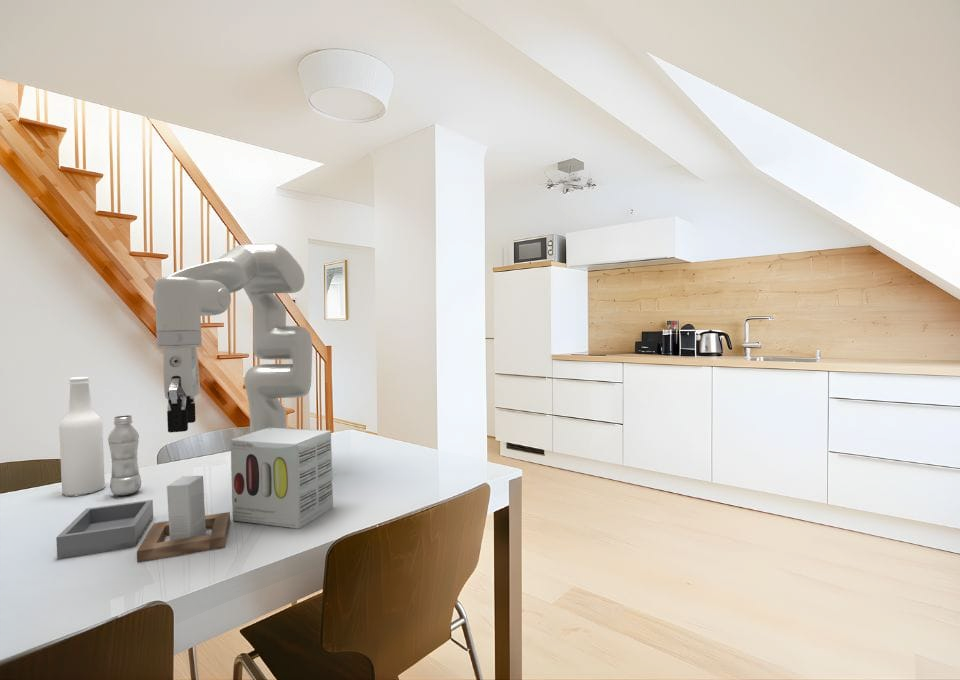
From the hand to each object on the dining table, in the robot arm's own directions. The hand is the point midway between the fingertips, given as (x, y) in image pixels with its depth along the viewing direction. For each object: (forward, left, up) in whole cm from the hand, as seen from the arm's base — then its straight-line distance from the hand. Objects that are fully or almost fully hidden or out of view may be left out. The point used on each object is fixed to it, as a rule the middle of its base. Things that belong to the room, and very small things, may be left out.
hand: (182, 427), depth 97 cm
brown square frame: (0, 0, -23) cm, 23 cm away
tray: (+15, -9, -23) cm, 28 cm away
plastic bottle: (+19, -39, -23) cm, 49 cm away
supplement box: (-18, -6, -23) cm, 30 cm away
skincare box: (0, 0, -23) cm, 23 cm away
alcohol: (+30, -47, -23) cm, 60 cm away
